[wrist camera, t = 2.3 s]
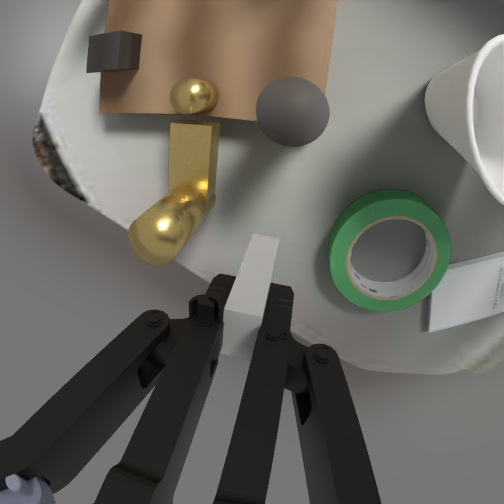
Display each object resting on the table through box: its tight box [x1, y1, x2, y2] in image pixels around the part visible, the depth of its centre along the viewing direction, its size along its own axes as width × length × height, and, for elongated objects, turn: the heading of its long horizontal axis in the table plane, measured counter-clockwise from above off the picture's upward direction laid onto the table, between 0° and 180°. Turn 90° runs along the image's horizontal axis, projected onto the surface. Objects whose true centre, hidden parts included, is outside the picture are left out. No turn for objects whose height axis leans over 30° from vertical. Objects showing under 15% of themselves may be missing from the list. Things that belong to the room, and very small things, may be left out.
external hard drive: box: [427, 252, 504, 333], centre depth 25 cm, size 2×8×12 cm
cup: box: [425, 34, 504, 205], centre depth 13 cm, size 10×10×11 cm
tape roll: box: [329, 189, 451, 312], centre depth 24 cm, size 11×11×3 cm
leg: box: [128, 78, 220, 266], centre depth 18 cm, size 11×3×8 cm, turn 174°
